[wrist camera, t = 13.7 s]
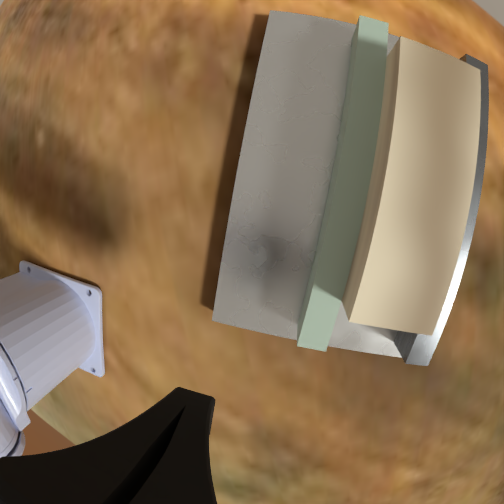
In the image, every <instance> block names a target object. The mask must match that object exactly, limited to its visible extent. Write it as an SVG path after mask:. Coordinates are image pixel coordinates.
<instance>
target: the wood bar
mask: <svg viewBox="0 0 504 504" xmlns="http://www.w3.org/2000/svg"><path fill="white" fill-rule="evenodd" d="M480 109H481V78H480V69H478V68H476V67H474V66H472V65H470V64H468V63H466V62H463V61H461V60H459V59H457V58H455V57H453V56H450V55H448V54H446V53H444V52H441V51H439V50H436V49H434V48H431V47H429V46H426V45H424V44H421V43H418V42H416V41H413V40H410V39H407V38H404V37H401V36H400V38H399V39H398V41H397V42H396V44H395V45H394V47H393V48H392V50H391V51H390V53H389V54H388V56H387V58H386V70H385V81H384V91H383V100H382V108H381V116H380V123H379V130H378V137H377V144H376V150H375V156H374V162H373V168H372V173H371V179H370V184H369V189H368V194H367V199H366V204H365V209H364V214H363V218H362V223H361V227H360V232H359V236H358V240H357V244H356V248H355V252H354V256H353V260H352V264H351V268H350V272H349V276H348V279H347V283H346V287H345V290H344V294H343V297H342V304H343V307H344V309H345V312H346V315H347V318H348V321H349V322H353V323H358V324H364V325H369V326H375V327H381V328H386V329H392V330H398V331H404V332H411V333H417V334H424V335H430V336H432V335H433V332H434V330H435V327H436V325H437V322H438V319H439V317H440V314H441V311H442V308H443V305H444V302H445V300H446V297H447V294H448V291H449V287H450V284H451V281H452V278H453V274H454V271H455V268H456V264H457V260H458V257H459V253H460V249H461V245H462V241H463V237H464V233H465V228H466V224H467V219H468V214H469V209H470V203H471V198H472V192H473V186H474V179H475V172H476V164H477V155H478V144H479V131H480Z"/></svg>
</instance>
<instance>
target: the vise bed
mask: <svg viewBox="0 0 504 504" xmlns="http://www.w3.org/2000/svg"><path fill="white" fill-rule="evenodd" d="M355 28H356V25H355V24H351V23H347V22H342V21H337V20H333V19H327V18H322V17H317V16H311V15H304V14H297V13H290V12H281V11H272V10H270V14H269V18H268V23H267V27H266V31H265V36H264V40H263V45H262V50H261V54H260V59H259V63H258V68H257V73H256V78H255V82H254V87H253V92H252V97H251V102H250V107H249V112H248V117H247V122H246V127H245V132H244V137H243V142H242V147H241V153H240V158H239V163H238V169H237V174H236V179H235V185H234V190H233V196H232V202H231V207H230V213H229V219H228V224H227V230H226V236H225V242H224V248H223V254H222V260H221V266H220V272H219V279H218V285H217V291H216V298H215V304H214V311H213V317H212V321H215V322H219V323H223V324H227V325H231V326H236V327H240V328H244V329H248V330H253V331H257V332H262V333H266V334H271V335H275V336H280V337H285V338H289V339H294V340H297V325H298V321H299V317H300V314H301V310H302V306H303V302H304V298H305V294H306V290H307V286H308V282H309V278H310V274H311V270H312V266H313V261H314V257H315V253H316V248H317V244H318V240H319V235H320V231H321V226H322V221H323V217H324V212H325V207H326V202H327V197H328V192H329V187H330V182H331V177H332V172H333V166H334V161H335V155H336V150H337V144H338V138H339V132H340V126H341V120H342V114H343V107H344V100H345V94H346V86H347V79H348V72H349V64H350V56H351V47H352V38H353V34H354V31H355ZM399 38H400V37H397V36H394V35H391V34H388V43H387V56H388V54H389V53H390V51H391V50H392V48H393V47H394V45H395V44H396V42H397V41H398V39H399ZM459 60H461V61H463V62H466V63H468V64H470V65H472V66H474V67H476V68H478V69H480V78H481V109H480V131H479V144H478V155H477V164H476V172H475V179H474V186H473V192H472V198H471V203H470V209H469V214H468V219H467V224H466V228H465V233H464V237H463V241H462V245H461V249H460V253H459V257H458V260H457V264H456V268H455V271H454V274H453V278H452V281H451V284H450V287H449V291H448V294H447V297H446V300H445V302H444V305H443V308H442V311H441V314H440V317H439V319H438V322H437V325H436V327H435V330H434V332H433V335H432V336H430V335H424V334H417V333H411V332H404V331H398V330H392V329H386V328H381V327H375V326H369V325H364V324H358V323H353V322H349V321H348V318H347V315H346V312H345V309H344V307H343V304H342V301H341V304H340V308H339V311H338V314H337V318H336V321H335V324H334V328H333V331H332V334H331V337H330V340H329V343H328V346H331V347H337V348H342V349H348V350H354V351H360V352H367V353H373V354H380V355H387V356H394V357H402V358H403V360H404V362H405V363H406V364H414V365H423V366H428V364H429V362H430V360H431V357H432V355H433V353H434V351H435V348H436V346H437V344H438V341H439V339H440V336H441V334H442V331H443V329H444V326H445V324H446V321H447V318H448V316H449V313H450V310H451V308H452V305H453V302H454V299H455V296H456V293H457V290H458V287H459V284H460V280H461V277H462V274H463V270H464V267H465V263H466V260H467V256H468V252H469V248H470V244H471V240H472V236H473V231H474V227H475V222H476V217H477V212H478V207H479V201H480V195H481V189H482V183H483V175H484V167H485V158H486V148H487V134H488V110H489V88H488V65H487V64H485V63H483V62H481V61H479V60H477V59H475V58H473V57H471V56H469V55H467V54H465V55H464V56H463V57H461V58H460V59H459Z"/></svg>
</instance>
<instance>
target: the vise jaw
mask: <svg viewBox="0 0 504 504" xmlns="http://www.w3.org/2000/svg"><path fill="white" fill-rule="evenodd" d="M387 43H388V23H386V22H383V21H379V20H376V19H372V18H368V17H364V16H361V15H360V16H359V19H358V22H357V25H356V28H355V31H354V34H353V38H352V47H351V56H350V64H349V72H348V79H347V86H346V94H345V100H344V107H343V114H342V120H341V126H340V132H339V138H338V144H337V150H336V155H335V161H334V166H333V172H332V177H331V182H330V187H329V192H328V197H327V202H326V207H325V212H324V217H323V221H322V226H321V231H320V235H319V240H318V244H317V248H316V253H315V257H314V261H313V266H312V270H311V274H310V278H309V282H308V286H307V290H306V294H305V298H304V302H303V306H302V310H301V314H300V317H299V321H298V325H297V346H299V347H305V348H310V349H315V350H320V351H326V349H327V346H328V343H329V340H330V337H331V334H332V331H333V328H334V324H335V321H336V318H337V314H338V311H339V308H340V304H341V301H342V297H343V294H344V290H345V287H346V283H347V279H348V276H349V272H350V268H351V264H352V260H353V256H354V252H355V248H356V244H357V240H358V236H359V232H360V227H361V223H362V218H363V214H364V209H365V204H366V199H367V194H368V189H369V184H370V179H371V173H372V168H373V162H374V156H375V150H376V144H377V137H378V130H379V123H380V116H381V108H382V100H383V91H384V81H385V70H386V58H387Z"/></svg>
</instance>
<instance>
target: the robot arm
mask: <svg viewBox="0 0 504 504" xmlns="http://www.w3.org/2000/svg"><path fill="white" fill-rule="evenodd" d="M30 269H31V270H30ZM19 270H20V272H19V273H16V274H13V275H11V276H8V277H5V278H3V279H0V504H217V501H216V497H215V492H214V487H213V482H212V475H211V468H210V457H209V435H210V430H211V424H212V418H213V412H214V406H215V399H214V398H213V397H212V396H208V395H204V394H201V393H197V392H194V391H191V390H187V389H184V388H181V387H177V388H175V389H174V390H173V391H172V392H171V393H169V394H168V395H167V396H166V397H164V398H163V399H162V400H160V401H159V402H158V403H156V404H155V405H154V406H152V407H151V408H149V409H148V410H146V411H145V412H144V413H142V414H141V415H139V416H138V417H136V418H134V419H133V420H131V421H129V422H127V423H126V424H124V425H122V426H120V427H119V428H117V429H115V430H113V431H111V432H109V433H107V434H105V435H102V436H100V437H98V438H95V439H93V440H90V441H88V442H85V443H82V444H79V445H76V446H73V447H69V448H66V449H62V450H58V451H53V452H47V453H42V454H36V455H26V456H21V455H22V453H23V450H24V447H25V436H24V433H23V431H22V430H23V429H24V428H25V427H26V426H27V425H28V424H29V423H30V419H29V417H28V415H27V411H28V410H29V409H30V408H32V407H33V406H34V405H35V404H36V403H37V402H38V401H40V400H41V399H42V398H43V397H44V396H45V395H46V394H48V393H49V392H50V391H51V390H52V389H53V388H54V387H56V386H57V385H58V384H59V383H60V382H61V381H63V380H64V379H65V378H66V377H67V376H68V375H70V374H71V373H72V372H73V371H74V370H75V369H77V368H78V367H79V368H81V369H83V370H85V371H87V372H89V373H92V374H94V375H96V376H98V377H102V376H103V375H104V374H105V368H104V353H103V332H102V292H101V290H100V289H99V288H98V287H96V286H93V285H90V284H87V283H84V282H81V281H78V280H75V279H73V278H70V277H67V276H64V275H61V274H59V273H56V272H53V271H51V270H48V269H45V268H43V267H40V266H37V265H35V264H32V263H30V262H27V261H25V260H23V261H21V262H20V264H19ZM89 290H90V291H91V294H90V292H89ZM94 369H95V370H94Z"/></svg>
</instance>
